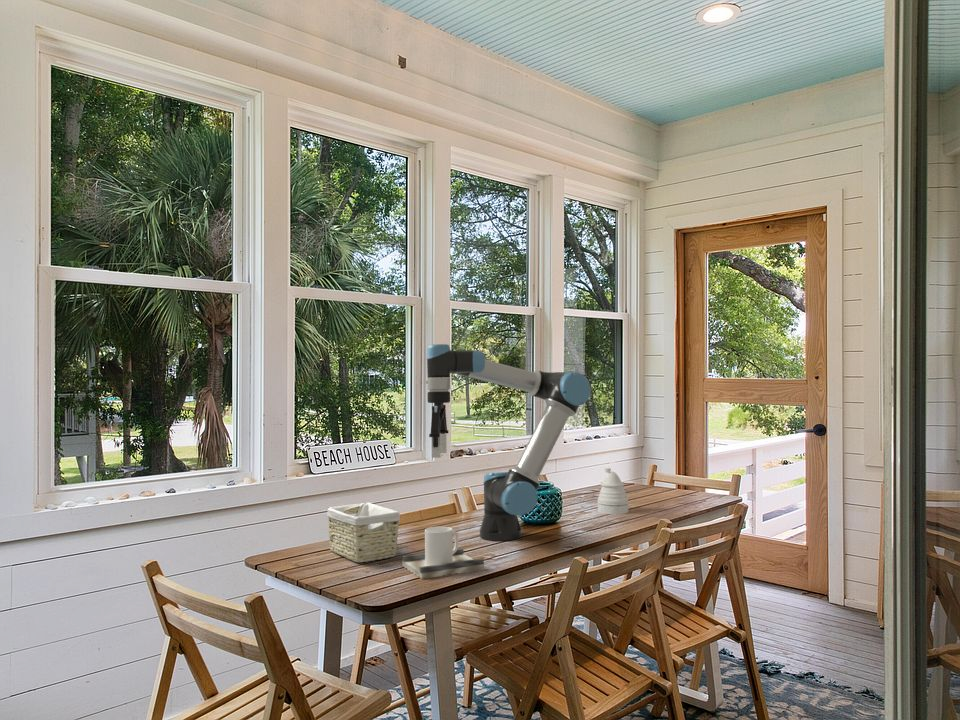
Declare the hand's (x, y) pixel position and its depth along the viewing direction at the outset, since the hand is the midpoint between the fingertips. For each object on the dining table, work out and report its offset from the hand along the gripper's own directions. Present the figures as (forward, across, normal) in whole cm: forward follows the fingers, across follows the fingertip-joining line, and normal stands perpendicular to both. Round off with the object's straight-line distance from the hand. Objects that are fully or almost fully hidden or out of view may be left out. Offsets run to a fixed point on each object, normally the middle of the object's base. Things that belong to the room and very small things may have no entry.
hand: (439, 455), depth 229 cm
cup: (+30, +18, +4) cm, 36 cm away
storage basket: (+32, +4, -25) cm, 41 cm away
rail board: (+32, +19, +4) cm, 37 cm away
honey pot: (+32, -72, +63) cm, 101 cm away
